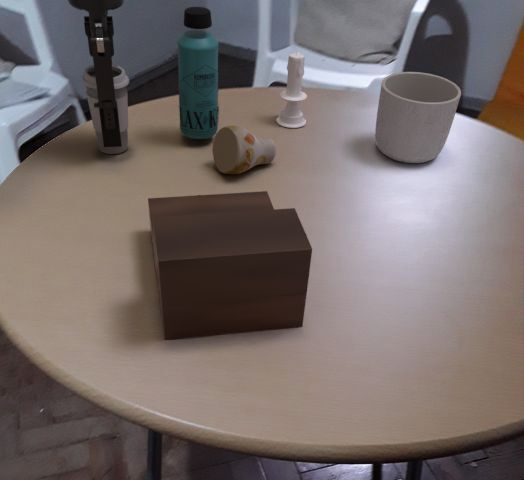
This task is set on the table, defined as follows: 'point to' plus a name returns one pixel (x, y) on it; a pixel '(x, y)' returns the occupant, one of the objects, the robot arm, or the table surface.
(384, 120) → the planter
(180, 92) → the beverage bottle
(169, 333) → the step shelf
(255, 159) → the floral vase
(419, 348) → the table surface
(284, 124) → the candle
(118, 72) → the cup
